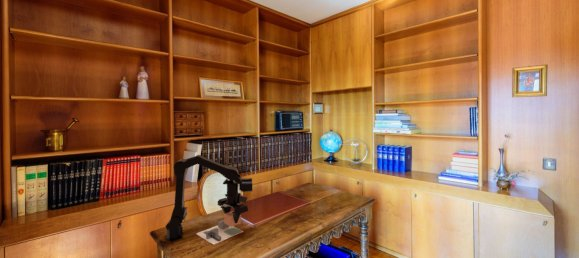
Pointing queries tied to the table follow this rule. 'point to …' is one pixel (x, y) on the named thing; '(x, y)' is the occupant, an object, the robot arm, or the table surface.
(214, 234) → the t key
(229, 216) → the salmon orange cube
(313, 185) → the table surface
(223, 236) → the panel
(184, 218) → the robot arm
